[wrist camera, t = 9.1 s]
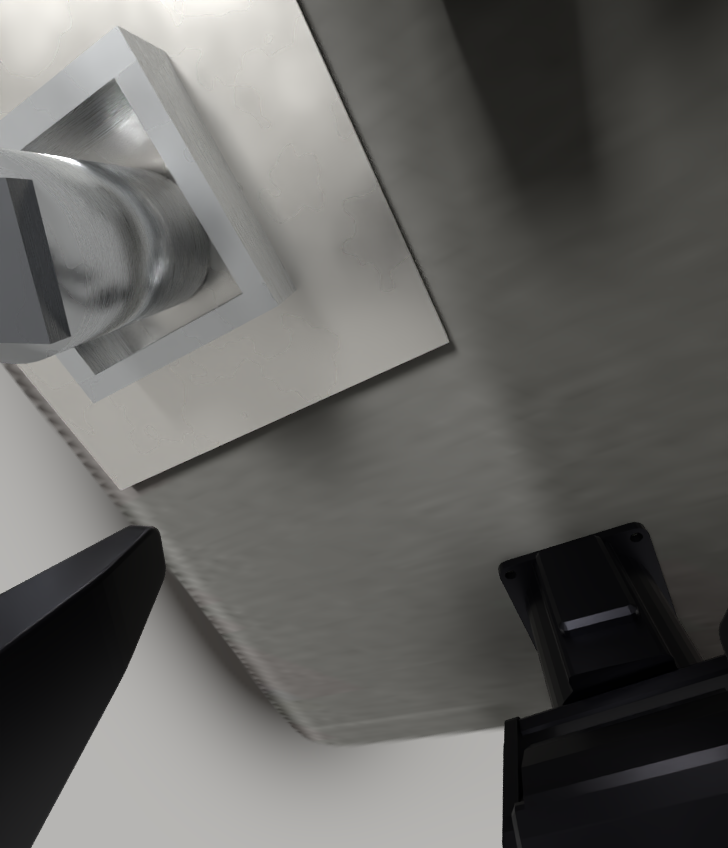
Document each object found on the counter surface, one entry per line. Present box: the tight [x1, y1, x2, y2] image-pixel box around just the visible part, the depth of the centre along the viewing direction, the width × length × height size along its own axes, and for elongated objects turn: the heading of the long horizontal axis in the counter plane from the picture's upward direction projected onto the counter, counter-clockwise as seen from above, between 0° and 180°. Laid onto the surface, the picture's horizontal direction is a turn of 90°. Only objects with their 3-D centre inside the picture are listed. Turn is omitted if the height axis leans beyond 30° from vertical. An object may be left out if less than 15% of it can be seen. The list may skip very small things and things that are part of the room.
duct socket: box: [0, 0, 449, 490], centre depth 16 cm, size 16×16×3 cm
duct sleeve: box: [0, 147, 210, 364], centre depth 13 cm, size 5×5×8 cm
